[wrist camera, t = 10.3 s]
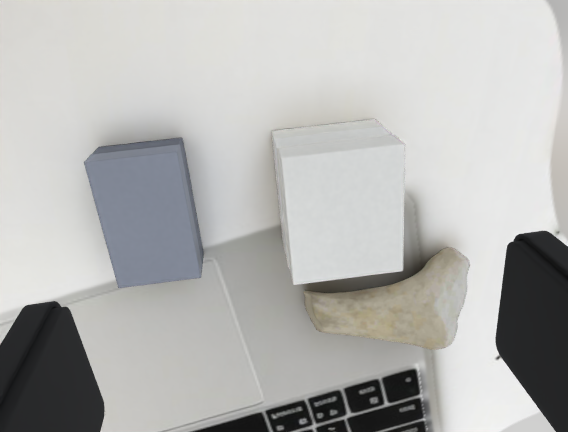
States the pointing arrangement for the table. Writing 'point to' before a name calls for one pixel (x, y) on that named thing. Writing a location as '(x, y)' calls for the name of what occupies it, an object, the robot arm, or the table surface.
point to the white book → (344, 208)
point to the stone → (400, 306)
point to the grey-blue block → (147, 211)
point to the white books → (315, 137)
